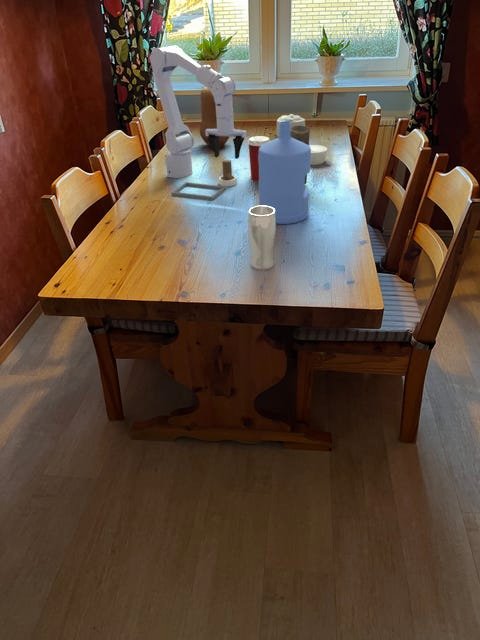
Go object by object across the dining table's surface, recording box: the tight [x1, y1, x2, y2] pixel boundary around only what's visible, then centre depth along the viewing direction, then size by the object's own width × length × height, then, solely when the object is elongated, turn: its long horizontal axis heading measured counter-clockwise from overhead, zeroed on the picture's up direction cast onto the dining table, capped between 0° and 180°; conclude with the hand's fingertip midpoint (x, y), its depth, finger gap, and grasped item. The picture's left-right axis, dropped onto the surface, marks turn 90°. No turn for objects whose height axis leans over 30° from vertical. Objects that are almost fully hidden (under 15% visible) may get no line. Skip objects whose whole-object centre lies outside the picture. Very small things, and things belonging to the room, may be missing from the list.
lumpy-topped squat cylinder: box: [276, 113, 306, 138], centre depth 234 cm, size 10×13×9 cm
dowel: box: [221, 159, 233, 180], centre depth 179 cm, size 3×3×8 cm
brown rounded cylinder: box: [290, 125, 311, 185], centre depth 173 cm, size 8×7×20 cm
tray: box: [171, 181, 227, 201], centre depth 174 cm, size 16×11×2 cm
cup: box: [218, 174, 238, 187], centre depth 181 cm, size 6×6×3 cm
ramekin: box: [309, 144, 329, 166], centre depth 200 cm, size 11×11×5 cm
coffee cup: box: [247, 135, 271, 182], centre depth 181 cm, size 8×8×15 cm
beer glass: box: [247, 205, 277, 271], centre depth 126 cm, size 7×7×15 cm
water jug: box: [258, 121, 311, 225], centre depth 149 cm, size 16×16×28 cm
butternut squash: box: [199, 86, 231, 147], centre depth 218 cm, size 14×13×25 cm
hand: (227, 157), depth 175 cm, fingers open, 7 cm apart
